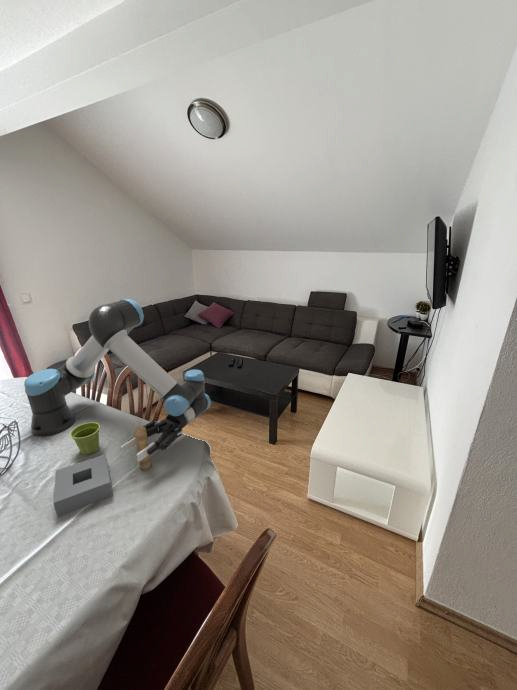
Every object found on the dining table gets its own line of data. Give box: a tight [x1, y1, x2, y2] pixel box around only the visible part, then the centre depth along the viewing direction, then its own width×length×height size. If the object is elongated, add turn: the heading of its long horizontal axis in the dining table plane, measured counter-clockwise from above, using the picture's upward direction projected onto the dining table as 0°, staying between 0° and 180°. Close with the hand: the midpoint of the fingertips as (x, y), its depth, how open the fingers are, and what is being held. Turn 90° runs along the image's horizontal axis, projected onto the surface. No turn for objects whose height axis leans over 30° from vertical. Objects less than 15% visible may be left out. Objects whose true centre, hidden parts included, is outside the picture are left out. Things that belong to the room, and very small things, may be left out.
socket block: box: [53, 454, 114, 517], centre depth 87 cm, size 14×14×5 cm
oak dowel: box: [133, 426, 152, 471], centre depth 95 cm, size 4×4×15 cm
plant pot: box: [69, 421, 101, 455], centre depth 104 cm, size 9×9×9 cm
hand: (129, 454), depth 90 cm, fingers open, 7 cm apart
